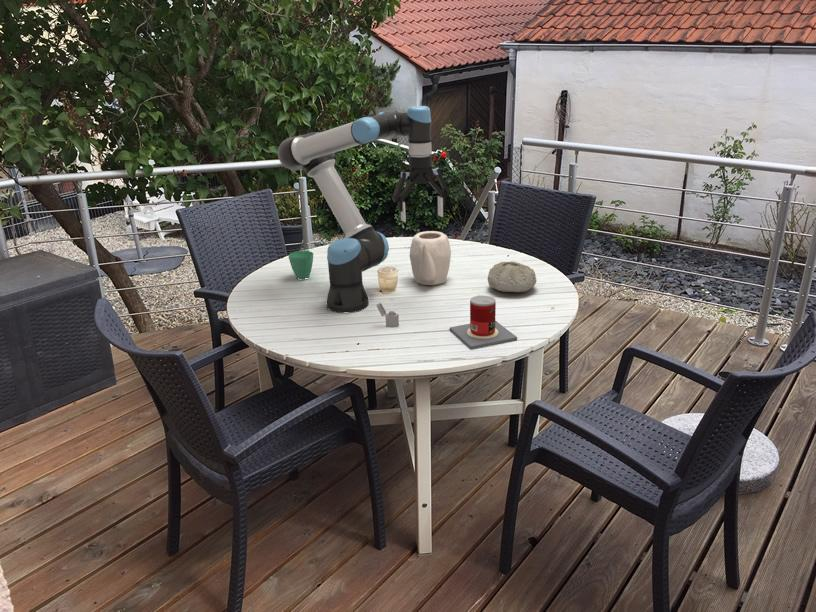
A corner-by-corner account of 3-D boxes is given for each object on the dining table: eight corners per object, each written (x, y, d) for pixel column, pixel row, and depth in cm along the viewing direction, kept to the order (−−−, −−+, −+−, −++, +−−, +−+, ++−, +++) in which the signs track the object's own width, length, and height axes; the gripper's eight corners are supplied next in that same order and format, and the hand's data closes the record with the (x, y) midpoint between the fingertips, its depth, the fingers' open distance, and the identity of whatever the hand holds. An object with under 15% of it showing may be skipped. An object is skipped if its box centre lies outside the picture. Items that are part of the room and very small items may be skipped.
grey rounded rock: (533, 281, 263) (534, 256, 259) (538, 298, 246) (539, 272, 243) (486, 282, 264) (486, 257, 261) (488, 298, 248) (488, 272, 244)
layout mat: (470, 349, 209) (470, 346, 209) (449, 330, 223) (449, 327, 223) (517, 340, 214) (517, 336, 214) (493, 321, 228) (493, 318, 228)
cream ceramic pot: (404, 294, 255) (402, 245, 248) (416, 270, 280) (415, 226, 273) (445, 295, 253) (445, 246, 245) (454, 271, 277) (454, 226, 270)
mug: (312, 282, 271) (309, 258, 268) (288, 282, 272) (285, 258, 269) (320, 270, 285) (318, 247, 281) (297, 270, 286) (295, 247, 282)
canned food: (494, 337, 214) (494, 304, 210) (468, 336, 215) (468, 303, 211) (496, 327, 221) (496, 295, 217) (471, 326, 222) (471, 294, 218)
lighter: (399, 325, 228) (398, 303, 225) (397, 327, 227) (396, 305, 224) (378, 324, 230) (377, 302, 227) (377, 326, 228) (375, 304, 225)
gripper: (450, 150, 232) (451, 211, 240) (380, 157, 224) (383, 220, 232) (459, 153, 225) (460, 216, 233) (388, 160, 217) (391, 225, 225)
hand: (422, 218), depth 232 cm, fingers open, 13 cm apart
